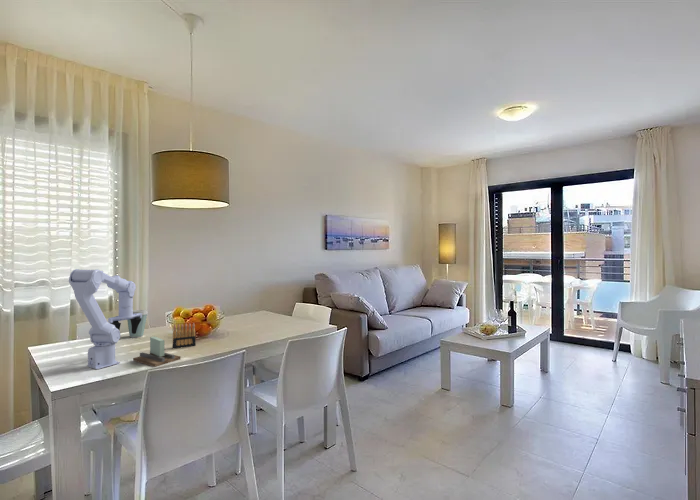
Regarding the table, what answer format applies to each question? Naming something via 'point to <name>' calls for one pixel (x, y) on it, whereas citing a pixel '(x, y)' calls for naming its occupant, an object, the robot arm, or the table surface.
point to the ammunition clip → (184, 336)
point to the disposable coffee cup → (140, 327)
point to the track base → (155, 359)
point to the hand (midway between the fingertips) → (125, 335)
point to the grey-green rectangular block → (157, 346)
